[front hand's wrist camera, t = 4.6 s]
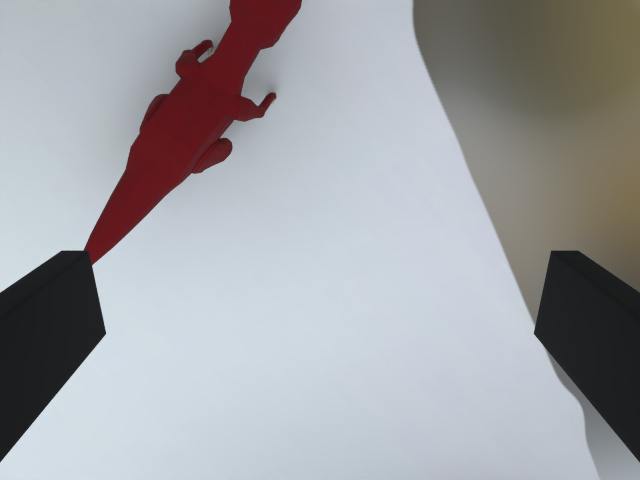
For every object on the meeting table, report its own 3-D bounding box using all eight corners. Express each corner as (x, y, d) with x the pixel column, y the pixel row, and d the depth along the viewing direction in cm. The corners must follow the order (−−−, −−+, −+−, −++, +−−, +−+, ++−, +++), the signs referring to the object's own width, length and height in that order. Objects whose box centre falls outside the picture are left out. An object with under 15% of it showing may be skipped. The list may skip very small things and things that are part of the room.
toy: (289, 88, 42) (362, -23, 28) (120, 307, 33) (107, 300, 19) (227, 36, 40) (272, -108, 27) (32, 252, 31) (-50, 203, 18)
